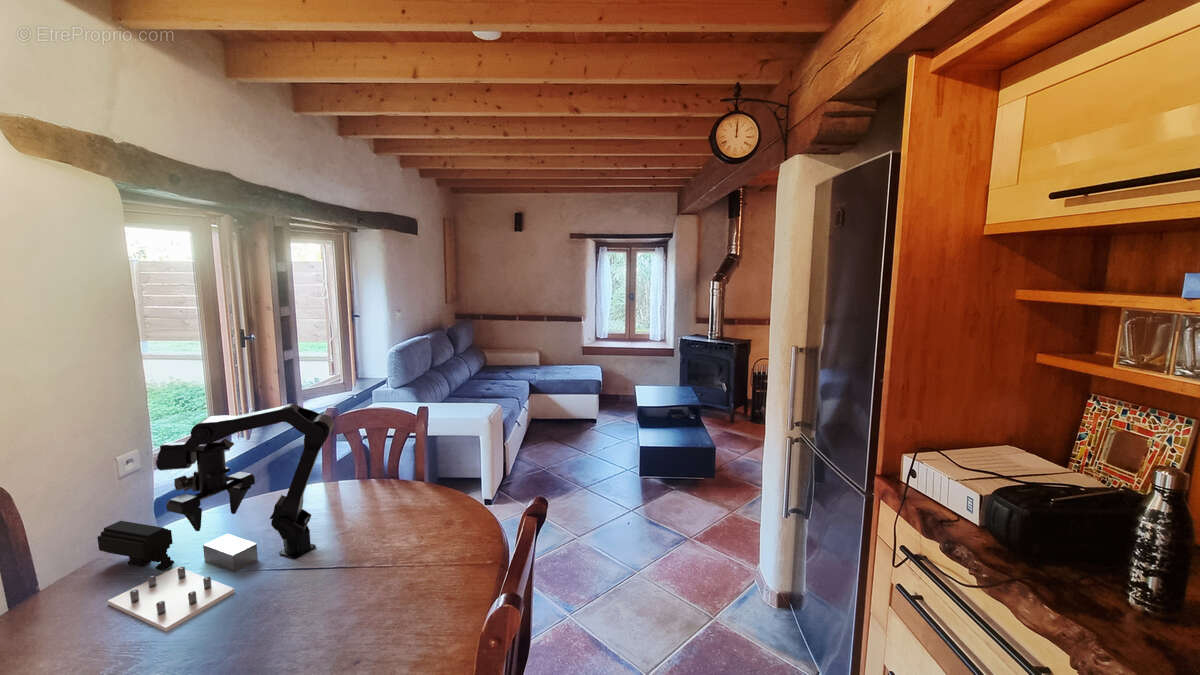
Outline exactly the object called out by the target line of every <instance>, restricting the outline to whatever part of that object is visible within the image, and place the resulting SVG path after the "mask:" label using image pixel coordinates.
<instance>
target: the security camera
mask: <svg viewBox="0 0 1200 675" xmlns="http://www.w3.org/2000/svg"><path fill="white" fill-rule="evenodd" d="M97 544H98V545H97V546H98V550H99V551H100V552H104V553H108V554H113V555H119V556H123V557H128V560H129V561H127V565H129V566H133V567H139V568H142V567H144V566H146V565H149V564H150V563H152V562H153V563H158V564H157V565H156V566H155V567H154V568H155V571H161V572H163V571H165V570H167V569H169V568H171V567H172V566H173V565H174V564H175V560H173V559H171V556H169V554H168V550H169V549H170V548H171V545H173V544H174V542H173V534H172V530H171V529H168V528H165V527H163V526H157V525H150V524H143V523H137V522H131V521H125V520H119V521H117V522H115V523H111V524H110V525H108V526H105V527H104V528H103V530H102V531H101V532H100V535H98V536H97Z"/></svg>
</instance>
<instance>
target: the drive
mask: <svg viewBox="0 0 1200 675" xmlns="http://www.w3.org/2000/svg"><path fill="white" fill-rule="evenodd" d="M257 545H258V544H257V542H253V541H250V540H247V539H245V538H241V537H239V536H236V535H233V534H230V533H225V534H223V535H221V536H219V537H216V538H214V539H212V540H211V541H208V542H206V543H204V544H202V547H203V557H204V562H205V563H208V564H211V565H214V566H216V567H218V568H222V569H224V570H227V571H230V572H232V573H236V572H238V571H240V570H241V569H244V568H246V567H247V566H249V565H251V564H253V563H255V562H256V561H258V560H259V559H258V546H257Z"/></svg>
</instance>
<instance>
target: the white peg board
mask: <svg viewBox="0 0 1200 675" xmlns="http://www.w3.org/2000/svg"><path fill="white" fill-rule="evenodd" d="M185 567H186V566H175V567H173V568H171V569H170V570H167V571H166V572H163V573H162V574H159V575H158V576H157V575H156V574H152V575H150V576H148V577H147V581H145V582H143V583H140V584H139V585H137V586H135V587H133V588H131V589H129V590H127V591H125V592H123V593H121V594H119V595H118V594H117V595H116V596H115V597H112V598H110V599H108V600H107V605H109V606H110V607H113V608H115V609H116V610H119V611H122V612H123V613H125V614H128V615H130V616H132V617H134V618H135V619H138V620H140V621H142V622H145V623H146V624H149V625H151V626H152V627H155V628H157V629H159V630H160V631H164V632H166V633H167V632H169V631H171V630H172V629H174V628H175V627H178V626H179V625H181V624H182V623H185V622H186V621H187V620H190V619H191V618H193V617H195V616H196V615H198V614H200V613H201V612H203V611H205V610H206V609H209V608H210V607H212V606H214V605H215V604H217V603H218V602H220V601H222V600H224V599H225V598H227V597H229V596H231V595H233V594H235V588H234V587H231V586H229V585H226V584H224V583H221V582H220V581H219V582H218V581H216V580H214V579H211V577H212V576H203V575H201V574H198V573H196V572H193V571H190V570H187V569H186V568H185Z"/></svg>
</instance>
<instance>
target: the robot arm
mask: <svg viewBox="0 0 1200 675" xmlns="http://www.w3.org/2000/svg"><path fill="white" fill-rule="evenodd" d="M280 423H287V424H288V425H290V426H291V427H293V428H294V429H295V430H297V431H298V432H299V433H301V434H303V435H304V437H303V451H302V453H301V456H300V459H299V461H298V463H297V464H298V465H297V467H296V469H295V472H294V475H293V476H292V480H291V483H290V486H289V488H288V491H287V493H286V496H285V495H283V494H281V495H280V497H279V498H278V500H277V501H276V502H275V504H274V507H273V512H272V514H271V515H270V517H269V520H271V523H270V524H271V527H272V528H273V529H274V530H276V531H277V533H278V534H279V536H280V537H281V539H282V540H283V549H282V550H280V551H279V553H278V554H279V555H280V556H284V557H287V558H290V559H293V560H296V559H298V558H300V557H302V556H303V555H305V554H307V553H308V552H310V551H312V550H313V549H316V547H317V546H316V544H314V543H311V533H310V532H311V531H310V528H309V526H308V524H309V522H310V521H311V518H312V514H311V513H309V512H308V511H307V510H305V509H303V504H304V493H305V491H306V488H307V486H308V483H309V480H310V477H311V476H312V472H313V469H314V467H315V465H316V461H317V459H318V456H319V453H320V451H321V448H322V447H323V445H324V444H325V442H326V441H327V439H328V438H329V435H330V434H331V432H332V430H333V429H334V427H335V421H334V420H333V418H332V417H331V416H330V415H327V414H320V413H319V412H316V411H314V410H312V409H309V408H308V409H307V408H305V407H302V406H301V405H300V406H299V405H298V404H296V403H287V404H285V405H282V406H277V407H272V408H267V409H262V410H258V411H253V412H248V413H244V414H243V413H242V414H239V415H229V414H228V415H227V414H226V415H225V414H223V415H221V414H220V415H210V416H208V417H205V418H204V419H202V420H200V421H199V422H198V423H196V424H195V425H194V426H193V427H192V428H191V430H190V437H189V438H188V440H186V441H182V442H181V441H179V442H170V441H169V442H164V443H162V444H160V446H159V448H160V450H159V452H158V453H157V459H156V460H155V463H156V468H157V469H158V471H172V470H182V469H184V470H185V469H190V468H191V467H192V465H194V464H196V466H197V467H196V469H197V470H195V471H193V474H192V475H191V476H187V475H182V476H181V475H180V476H179V477H176V478H174V480H173V482H174V483H173V484H174V488H175V490H176V491H181V490H184V492H188V491H189V490H192V492H198V491H199V492H198V493H195V494H194V495H193V494H187V493H183V494H181V495H177V496H175V497H173V498H170V499H169V500H168V501H167V502H166V511H167V512H171V513H176V514H179V515H184V516H185V518H187V520H188V522H189V523H190V525H191V526H192V528H193V530H194V531H195V532H200V531H201V528H202V516H203V512H202V511H203V508H201V507H200V506H201V504H202V503H201V501H203V500H206V499H208V498H210V497H212V496H215V495H217V494H220V493H222V492H224V491H227V493H228V494H229V496H228V497H229V508H230V509H229V510H230V513H231V514H232V515H236V514H237V511H238V510H239V508H240V505H241V503H242V502H243V500H244V498H245V496H246V494H247V492H249V490H250V489H251V488H252V486H253V485H255V484H256V477H255V475H254V474H252V473H249V472H244V471H238V472H235V473H233V474H230V475H228V476H227V473H229V472H230V470H231V469H230V468H231V467H229V466H227V465H226V452H225V451H226V450H227V451H228V450H230V449H231V448H232V447H233V446H234V445H235V443H234V442H232V441H231V440H229V439H227V437H229V436H232V435H233V434H236V433H239V432H245V431H248V430H253V429H257V428H261V427H263V428H264V427H266V426H271V425H272V426H273V425H275V424H280ZM220 440H221V441H220Z"/></svg>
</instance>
